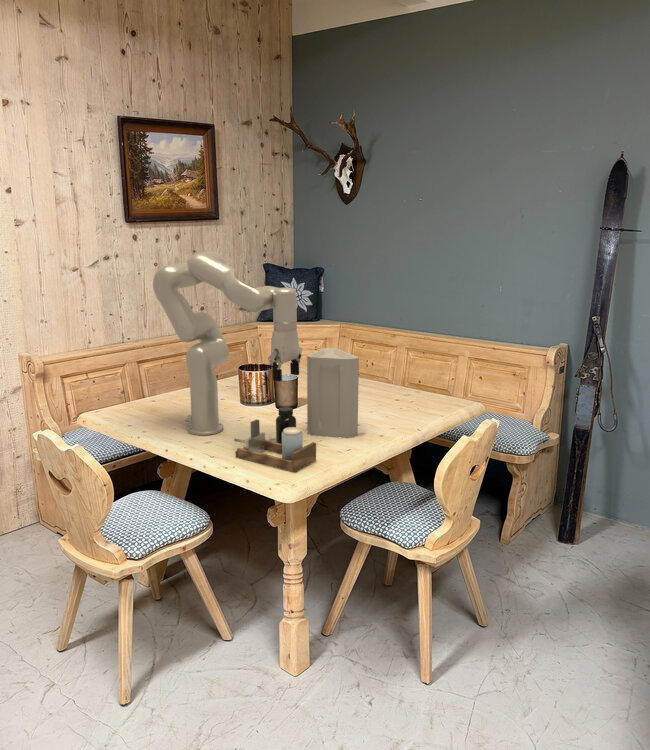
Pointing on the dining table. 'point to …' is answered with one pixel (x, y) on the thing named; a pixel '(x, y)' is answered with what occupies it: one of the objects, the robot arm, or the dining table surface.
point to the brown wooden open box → (298, 462)
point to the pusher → (254, 438)
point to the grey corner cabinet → (332, 393)
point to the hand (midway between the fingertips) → (286, 377)
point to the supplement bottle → (284, 422)
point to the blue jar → (291, 442)
